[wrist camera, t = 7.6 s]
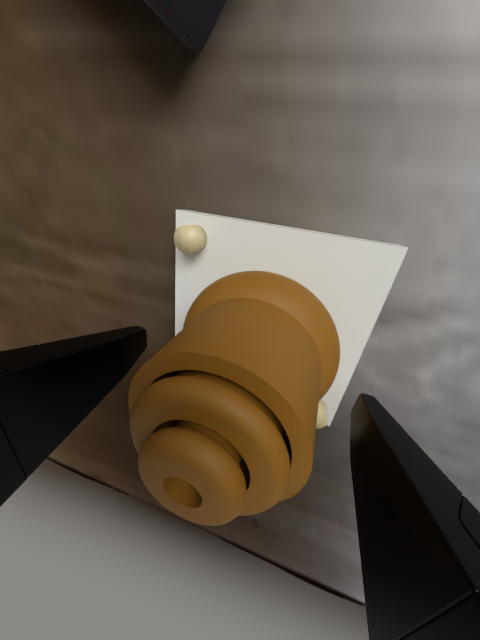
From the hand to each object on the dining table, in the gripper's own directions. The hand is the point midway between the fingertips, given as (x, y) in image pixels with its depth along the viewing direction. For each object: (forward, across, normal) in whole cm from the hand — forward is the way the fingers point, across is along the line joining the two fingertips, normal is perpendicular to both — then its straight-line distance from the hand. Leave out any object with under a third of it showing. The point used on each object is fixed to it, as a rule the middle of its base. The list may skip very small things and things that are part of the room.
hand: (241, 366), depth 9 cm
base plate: (+4, 0, 0) cm, 4 cm away
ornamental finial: (+4, 0, 0) cm, 4 cm away
